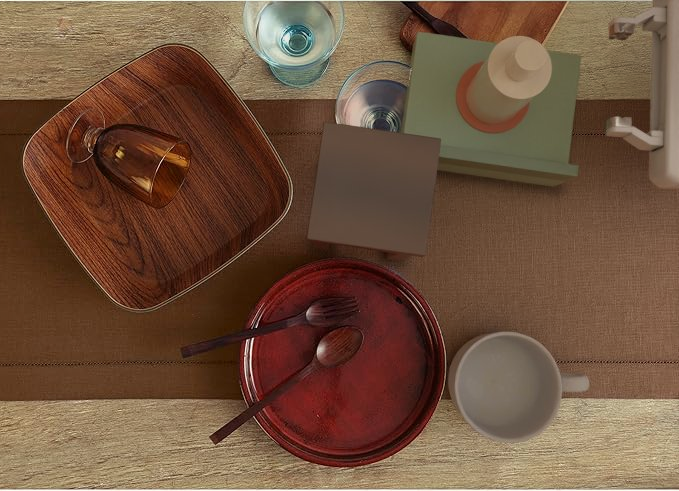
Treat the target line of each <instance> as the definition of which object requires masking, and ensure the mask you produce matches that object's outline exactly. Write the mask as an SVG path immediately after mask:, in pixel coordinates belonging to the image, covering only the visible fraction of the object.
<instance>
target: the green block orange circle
mask: <svg viewBox="0 0 679 491" xmlns="http://www.w3.org/2000/svg"><path fill="white" fill-rule="evenodd" d="M498 43H499V42H493V41H486V40H478V39H471V38H465V37H458V36H451V35H446V34H445V35H444V34H438V33H431V32H425V31H417V32H416V36H415V38H414V41H413V44H412V50H411V55H410V56H411V57H410V62H409V68H410V67H411V68H412V71H411V75H410V80H409V86H407V87H406V93H405V100H404V107H403V115H402V123H401V130H400V133H406V134H413V135H420V136H427V137H434V138H440V139H441V146H440V153H439V161H438V168H437V171H442V172H447V173H454V174H462V175H469V176H476V177H483V178H489V179H490V178H491V179H497V180H504V181H510V182H511V181H512V182H517V183H525V184H530V185H531V184H532V185H538V186H545V187H553V188H554V187H557V186H559V185H561V184H563V183H566V182H568V181H571V180H574V179H576V178H578V176H579V169H580V165H579V164H572V163H569V161H570V154H571V145H572V137H573V129H574V120H575V112H576V103H577V96H578V88H579V86H578V85H579V79H580V69H581V61H582V55H581V54H574V53H569V52H561V51H556V50H555V51H553V50H547V49H546V50H547V52H548V54H549V56H550V59H551V63H552V73H551V77H550V80H549V82H548V84H547V86H546V87H545V88H544V89H543V90H542V91H541V92H540V93H539V94H538V95H537V96H536V97H535V98H534V99H532V100H531V101H530V102H529V103H528V104H527V105H526V106H525V107H524V108H522V109H521V110H520V111H519V112H518V113H517V114H516V115H515V116H514V117H512V118H511V119H510V120H508V121H506V122H504V123H500V124H489V123H485V122H483V121H481V120H479V119H478V118H476V117H475V116H474V115H473V114H472V112H471V111H470V109H469V107H468V104H467V100H466V92H467V88H468V85H469V83H470V82H471V80H472V79H473V77H474V76H475V74H476V73H477V72H478V70H479V69H480V67H481V66H482V64H483V63H484V62H485V60H486V59H487V57H488V56H489V54H490V53H491V52H492V50H493V49H494V47H495V46H496V45H497V44H498ZM407 91H408V92H407Z"/></svg>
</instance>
